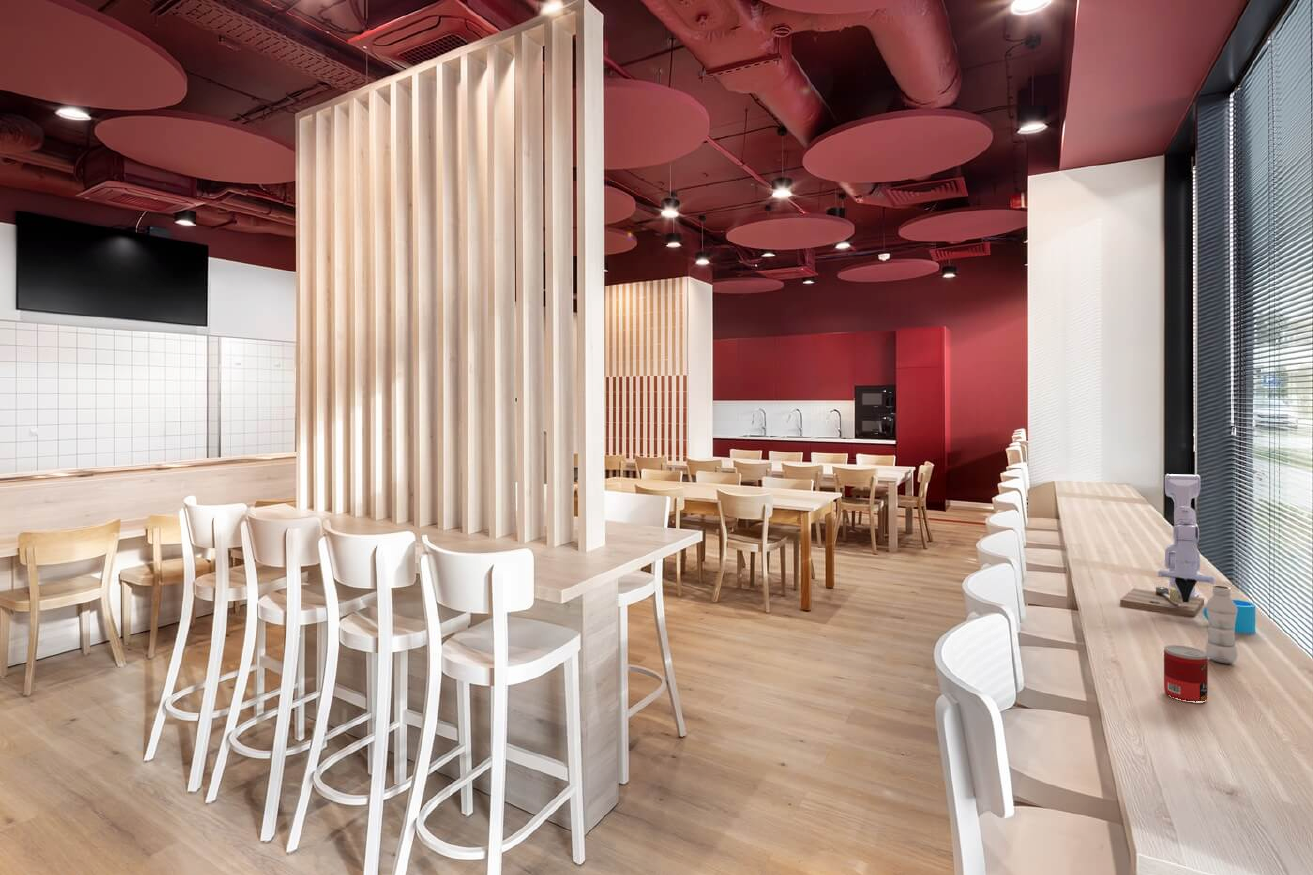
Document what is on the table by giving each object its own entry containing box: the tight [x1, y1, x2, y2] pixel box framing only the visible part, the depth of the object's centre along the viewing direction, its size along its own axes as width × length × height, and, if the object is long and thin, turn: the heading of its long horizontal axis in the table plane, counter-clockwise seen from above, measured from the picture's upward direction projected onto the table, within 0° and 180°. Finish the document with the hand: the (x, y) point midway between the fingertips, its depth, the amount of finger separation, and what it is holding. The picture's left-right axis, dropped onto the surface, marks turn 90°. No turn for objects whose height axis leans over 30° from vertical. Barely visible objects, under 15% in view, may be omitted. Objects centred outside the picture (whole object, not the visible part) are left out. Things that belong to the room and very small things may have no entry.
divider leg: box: [1155, 586, 1179, 605], centre depth 225 cm, size 16×4×5 cm, turn 158°
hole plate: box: [1119, 588, 1205, 618], centre depth 226 cm, size 20×20×2 cm
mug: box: [1203, 598, 1256, 635], centre depth 201 cm, size 12×8×8 cm
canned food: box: [1163, 644, 1209, 702], centre depth 154 cm, size 8×8×11 cm
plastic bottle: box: [1205, 585, 1239, 664], centre depth 174 cm, size 6×7×20 cm
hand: (1185, 601), depth 217 cm, fingers closed
